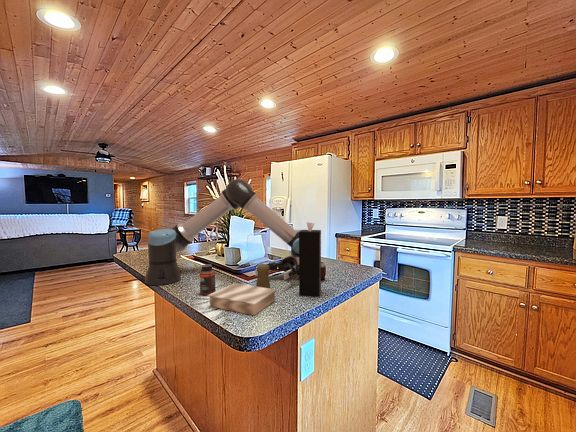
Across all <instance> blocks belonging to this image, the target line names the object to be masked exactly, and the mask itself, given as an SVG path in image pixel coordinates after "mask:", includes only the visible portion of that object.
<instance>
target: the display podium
mask: <svg viewBox="0 0 576 432" xmlns="http://www.w3.org/2000/svg"><path fill="white" fill-rule="evenodd" d="M256 286H257V285H256ZM256 286H254V285H248V284H241V283H235V282H234V283H231V284H230V285H226V286H224V287H222V288H220V289H218V290H215V292H214V293H211V294H209V295H207V297H209V306H210V307H212V308H217V309H221V310H227V311H231V312H235V313H240V314H241V313H242V314H245V315H251V316H255V315H257V314H259V312H261V311H262V310H264V309H266V307H268V306H269V305H271V304H272V303H273V302H275V301H276V292H277V289H275V288H270V289H269V288H263V287H256Z"/></svg>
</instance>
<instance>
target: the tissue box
mask: <svg viewBox="0 0 576 432" xmlns="http://www.w3.org/2000/svg"><path fill="white" fill-rule="evenodd" d="M314 226H315V223H314V222H306V227H307V229H300V230H301V231H299V276H298V279H299V280H298V289H299V291H298V292H299V293H298V295H299V296H305V297H306V296H307V297H320V295H321V292H322V280H321V262H322V230H321V229H313V227H314Z"/></svg>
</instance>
